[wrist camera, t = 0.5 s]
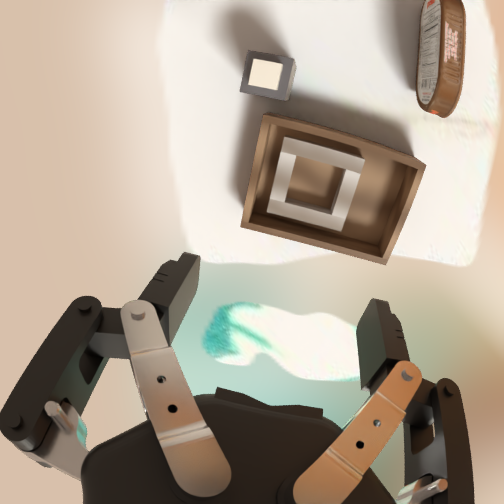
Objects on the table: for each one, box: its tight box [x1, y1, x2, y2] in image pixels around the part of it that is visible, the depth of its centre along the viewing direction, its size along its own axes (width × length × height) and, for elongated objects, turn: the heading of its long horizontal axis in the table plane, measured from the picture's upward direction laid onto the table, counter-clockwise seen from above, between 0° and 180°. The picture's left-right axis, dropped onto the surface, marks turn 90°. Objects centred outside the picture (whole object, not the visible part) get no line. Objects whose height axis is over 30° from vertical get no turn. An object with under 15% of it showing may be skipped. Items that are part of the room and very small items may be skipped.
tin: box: [416, 0, 466, 118], centre depth 20 cm, size 15×3×8 cm, turn 176°
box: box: [240, 113, 426, 265], centre depth 33 cm, size 13×18×4 cm
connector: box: [240, 50, 296, 101], centre depth 25 cm, size 4×4×9 cm
